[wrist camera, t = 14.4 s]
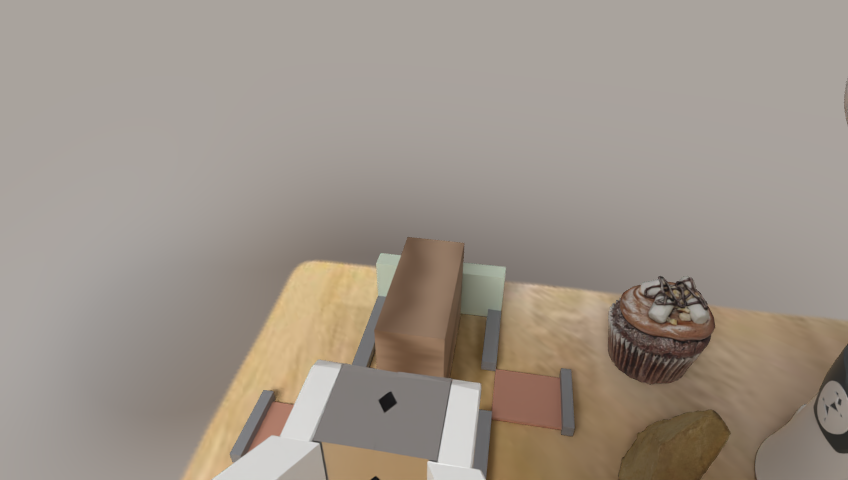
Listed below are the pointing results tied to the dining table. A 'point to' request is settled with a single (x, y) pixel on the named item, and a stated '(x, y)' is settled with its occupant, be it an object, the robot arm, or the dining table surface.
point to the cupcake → (659, 330)
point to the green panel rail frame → (513, 391)
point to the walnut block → (422, 310)
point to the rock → (676, 448)
